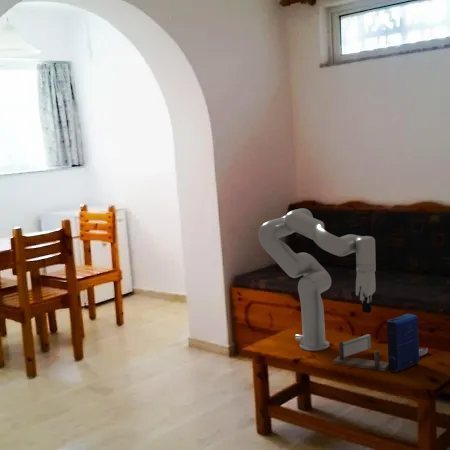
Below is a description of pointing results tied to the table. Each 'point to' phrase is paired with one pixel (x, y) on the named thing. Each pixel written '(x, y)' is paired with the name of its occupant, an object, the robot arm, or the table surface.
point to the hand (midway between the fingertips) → (366, 311)
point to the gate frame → (360, 361)
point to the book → (402, 342)
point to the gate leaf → (356, 345)
